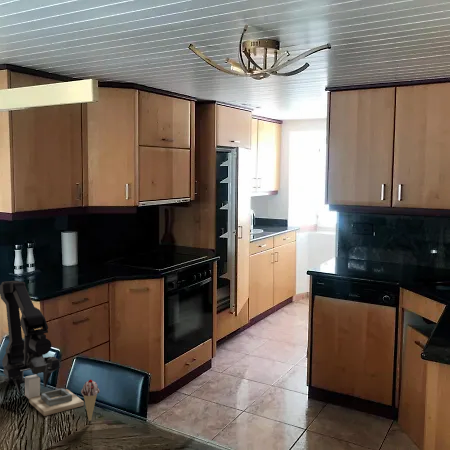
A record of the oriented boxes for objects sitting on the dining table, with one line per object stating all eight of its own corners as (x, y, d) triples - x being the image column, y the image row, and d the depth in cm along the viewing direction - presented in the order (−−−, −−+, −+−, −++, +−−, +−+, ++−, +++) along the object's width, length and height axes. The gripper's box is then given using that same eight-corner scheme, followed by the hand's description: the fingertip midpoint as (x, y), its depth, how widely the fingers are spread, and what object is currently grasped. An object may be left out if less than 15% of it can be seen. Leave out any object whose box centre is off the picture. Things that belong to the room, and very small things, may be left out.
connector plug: (24, 395, 184) (25, 376, 183) (35, 392, 186) (35, 374, 186) (28, 399, 181) (28, 379, 180) (39, 396, 183) (40, 377, 183)
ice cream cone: (79, 422, 163) (79, 377, 162) (97, 419, 166) (97, 375, 165) (82, 430, 158) (82, 383, 157) (100, 427, 161) (101, 381, 160)
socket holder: (29, 402, 178) (29, 392, 178) (67, 392, 187) (67, 383, 187) (44, 416, 167) (44, 405, 167) (83, 405, 177) (83, 395, 176)
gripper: (13, 358, 170) (13, 403, 171) (66, 348, 183) (66, 390, 184) (3, 350, 179) (2, 393, 180) (54, 341, 191) (54, 381, 192)
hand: (32, 389), depth 184 cm, fingers open, 9 cm apart
